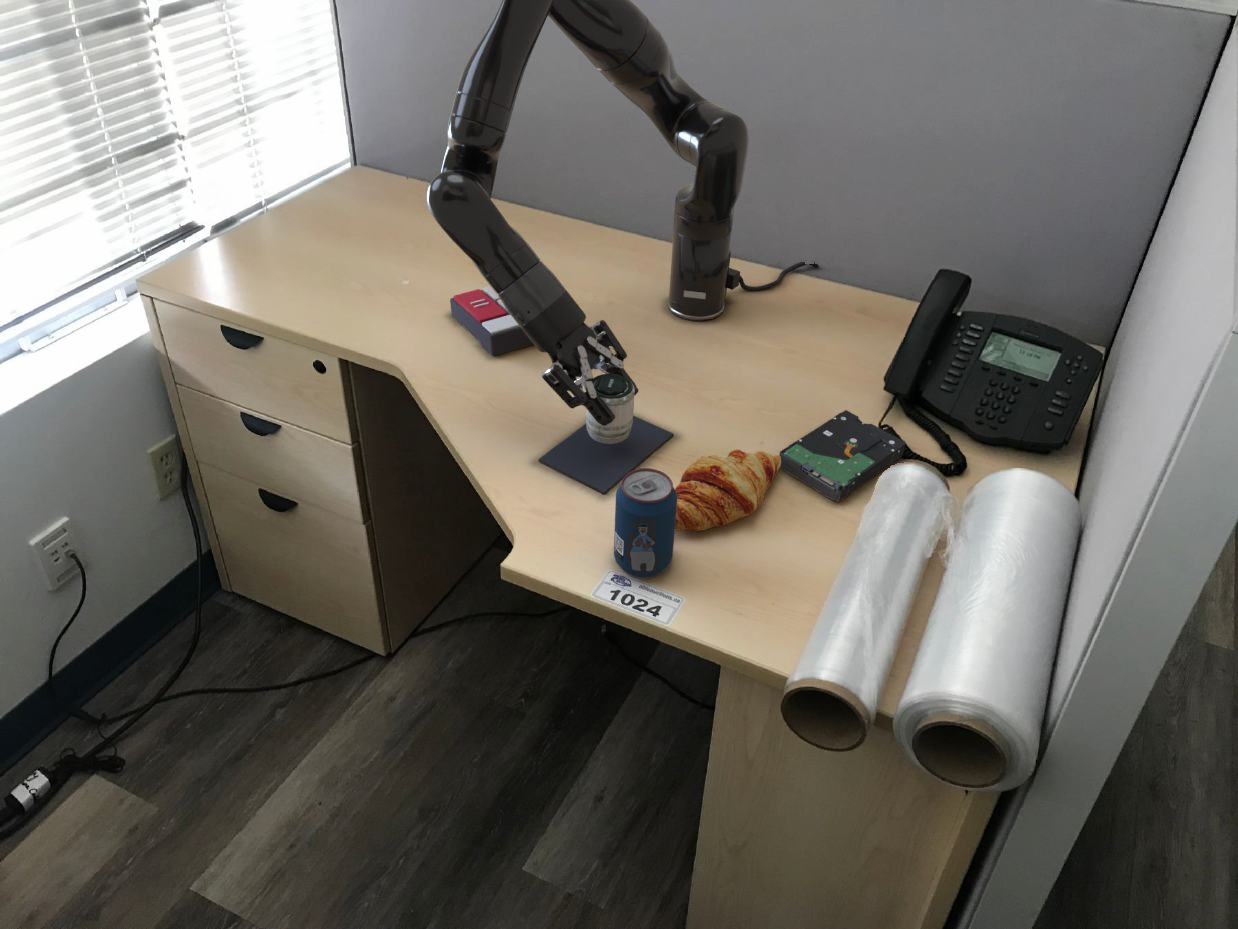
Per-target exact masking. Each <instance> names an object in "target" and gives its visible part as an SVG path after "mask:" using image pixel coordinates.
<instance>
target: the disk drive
mask: <svg viewBox="0 0 1238 929" xmlns="http://www.w3.org/2000/svg"><path fill="white" fill-rule="evenodd" d="M905 449H906V441H904V440H902V439H901V438H899V437H897V436H895V435H893V434H891V433H889V432H887V431H885V430H884V429H882V428H880V427H878V426H877V425H875V424H873V423H863V421H862V420H861V419H860V418H859V416H858V415H857V414H854V413H852V412H850V411H848V410H847V409H845V410H843V411H842V412H839V413H838V414H836V415H835V416H833V417H831V418H830V419H828V420H827V421H826V422H824V423H823V424H821V425H819V426H817V427H816V428H815V429H813V430H811V431H810V432H809V433H807V434H804V436H802V437H800V438H799V439H797V440H796V441H794V442H792V443H791V444H789V445H788V446H786V447H785V448H783V449H782V450H780V451H779V453H778V455H779V456H780V457H781V466H780V468H781V469H782V470H783V471H785V472H786V473H787V474H789V475H791V476H793V477H794V478H796V479H798V480H799V481H801V482H802V483H803V484H806V485H807V486H809V487H811V489H814V490H815V491H817V492H819V493H820V494H822V495H824V496H825V497H827V498H828V499H830V500H833V501H835V502H841V501H842V500H844V499H845V498H846V497H848V496H849V495H851V494H852V493H853V492H855V491H857V490H858V489H859V488H860V487H862V486H863V485H865V484H866V483H867V482H869V481H870V480H872V479H873V478H874V477H876V476H877V475H879V474H880V473H881V472H883V471H885V470H886V469H887V468H888V467H890V466H891V465H892V464H894V463H895V462H896V461H898V460H899V459H901V458H902V457H903V455H904V452H905Z"/></svg>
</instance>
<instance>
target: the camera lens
mask: <svg viewBox="0 0 1238 929" xmlns="http://www.w3.org/2000/svg"><path fill="white" fill-rule="evenodd" d="M592 383H593V385H594V388H595V391H596V394H597V396H600V398H601V399H602V400H603V401H604V403H605V404H606V405H607V406H608V408H609V409H610V410H611V412H612V413H613V414H614V415H615V419H614V420H613V421H612V422H611V423H609V424H607V425H606V426H602V425H601V424H599V423H598V422H597V421H596V420H595V418H594V417H593V416H592V415H591V414H590V412H589V411H588V410H587V409H586V408H585V424H586V427H587V431H588V433H589V435H590V437H592V439H594V440H596V441H598V442H600V443H606V444H614V443H619V442H622V441H624V440H625V439H626V438H627V437H628V436H629V434H630V431H631V428H632V423H633V416H634V409H635V396H634V394H635V388H634V386H633V384H632V382H631V381H630V380H629V379H627V378H626V377H624V376H621V375H618V374H606V373H602V374H599V375H596V376H595V377H594V376H593V380H592Z"/></svg>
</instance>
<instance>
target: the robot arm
mask: <svg viewBox="0 0 1238 929" xmlns="http://www.w3.org/2000/svg"><path fill="white" fill-rule="evenodd" d="M547 18H549V19H550V20H551V21H552V23H554V24H555V26H557V28H558V29H559V30H560V31H561V32H562V33H563V34H564V36H566V37H567V39H568V40H570V42H572V44H574V46H575V47H576V48H577V49H578V50H579V51H580V52H581V53H582V54H583V55H584V56H585V58H586V59H587V60H589V62H590V63H591V64H592V65H593V67H595V69H597V70H598V71H599V73H600V74H601V75H602V76H603V77H604V78H605V79H606V80H607V81H608V82H609V83H610V84H611V85H612V86H614V87H615V88H616V90H618V91H619V92H620V93H621V94H622V95H623V96H624V97H625V98H627V99H628V100H629V101H630V102H631V103H632V104H634V105H635V106H636V107H637V108H639V109H640V111H642V112H643V113H644V114H645V115H646V116H647V117H648V118H649V120H650V121H651V122H652V123H653V125H654V126H655V127H656V130H658V131H659V133H660V134H661V136H662V137H663V138H664V140H665V141H666V143H667V144H668V145H669V147H670V148H671V149H672V151H673V152H674V153H675V155H677V156H678V157H679V158H681V159H682V160H683V161H684V162H687V163H688V164H690V165H692V166H694V167H695V175H694V181H693V182H691V183H687V184H685V185H683V186H681V187H680V188H678V190H677V192H676V193H675V200H674V202H675V203H674V214H673V215H674V216H673V230H672V231H673V232H672V248H671V263H670V276H669V290H668V300H667V308H668V310H669V311H670V313H672V314H673V315H675V316H677V317H679V318H682V319H685V320H690V321H708V320H713V319H715V318H717V317H719V316H721V315H722V314H723V313H724V311H725V305H726V304H725V303H726V301H727V292H728V290H731V291H733V290H735V289H736V288H737V287H739V286H740V288H741V289H742V290H745V291H748V292H761V291H765V290H769V289H771V288H774V287H776V286H778V285H780V284H781V282H782V281H783V279H784V277H785V276H786V275H787V274H789V273H791V272H793V271H795V270H796V269H799V268H802V267H805V266H806V265H805V262H802V261H799V262H797V263H794V264H793V265H791V266H788V267H787V268H784V269H783V270H782V271H781V272H780V273H779V275H778V277H777V279H775V280H774V281H772V282H769V283H766V284H763V285H759V286H751V285H747V284H746V283H745V280H744V278H743V276H742V275H741V271H740V270H737V269H734V268H732V267H730V265H731V264H730V263H731V254H732V252H731V243H732V233H733V232H732V231H733V224H734V223H733V221H734V212H735V205H736V203H737V201H738V199H739V196H740V194H741V192H742V188H743V182H744V175H745V171H746V170H745V169H746V164H747V158H748V151H749V130H748V126H747V123H746V121H745V119H744V118H743V117H741V116H740V115H739V114H738V113H735V112H733V111H732V110H729V109H728V108H726V107H724V106H721V105H719V104H717V103H715V102H713V101H710V100H709V99H708V98H705V97H704V96H703V95H701V93H699V92H697V91H696V90H695V89H694V88H693V87H692V86H691V85H690V84H689V83H688V82H687V81H686V80H685V79H684V78H683V76H682V75H681V74H679V72H678V70H677V68H676V66H675V63H674V58H673V55H672V52H671V48H670V46H669V43H668V42H667V40H666V38H665V37H664V36H663V34H662V33H661V31H660V30H659V29H658V28H657V26H656V25H655V24H654V23H653V22H652V21H651V20H650V18H649V17H648V16H647V15H646V14H645V12H644V11H643V10H642V9H641V8H640V7H639V6H638V5H637V4H636V3H634V2H633V1H632V0H501V2H500V5H499V7H498V10H497V11H496V13H495V15H494V17H493V19H492V21H491V23H490V24H489V26H488V28H487V30H485V32H484V34H483V36H482V37H481V39H480V40H479V42H478V43H477V45H476V47H475V48H474V50H473V51H472V53H471V55H470V56H469V58H468V60H467V62H466V63H465V66H464V68H463V70H462V73H461V74H460V78H459V81H458V85H457V88H456V92H455V95H454V98H453V99H454V100H453V104H452V107H451V110H450V115H449V119H448V123H447V124H448V125H447V129H446V130H447V132H446V136H447V147H446V150H445V153H444V158H443V162H442V165H441V170H440V173H437V175H435V176H434V177H433V179H432V180H431V181H430V183H429V185H428V187H427V191H426V204H427V208H428V211H429V213H430V215H431V217H432V218H433V219H434V221H435V222H436V223H437V224H438V226H439V227H440V229H442V231H443V232H444V233H445V234H446V235H447V236H448V237H449V238H450V240H452V242H453V243H454V244H455V245H456V246H457V247H458V248H459V249H460V250H461V251H462V253H464V254H465V255H466V256H467V257H468V258H469V259H470V260H471V262H472V263H473V265H474V267H475V268H476V269H477V270H478V272H479V273H480V275H481V276H482V278H484V280H485V281H486V283H488V286H491V287H492V289H493V290H494V291H495V292H496V294H498V296H499V298H500V299H501V301H502V303H503V304H504V306H505V308H506V309H507V311H508V312H509V313H510V315H511V316H512V317H513V318H514V320H515V321H516V322H517V324H518V325H519V326H520V327H521V329H522V330H523V331H524V332H525V334H526V335H527V336H528V337H529V339H530V340H531V341H532V342H533V345H534V347H535V348H536V349H537V350H538V352H540V353H546V354H547V355H548V356H549V358H550V360H551V363H552V364H551V366H550V367H549V368H548V369H547V370H545V371H543V372H542V374H541V378H542V380H543V381H544V382H545V383H546V384H547V385H548V386H549V387H550V388H551V389H552V390H553V391H554V392H555V394H557V396H558V397H559V398H560V399H561V400H562V401H563V402H564V403H565V404H566V406H568V407H569V409H575V408H577V407H580V406H583V407H584V408H585V410H586V409H587V410H588V411H589V412H590V414H591V415H592V416H593V417H594V418H595V420H596V421H597V422H598V423H599V424H601V425H602V426H606V425H607V424H609V423H611V422H612V421H613V420H614V419H615V415H614V414H613V413H612V412H611V410H610V409H609V408H608V406H607V405H606V404H605V403H604V401H603V400H602V399H601V398H600V396H597V394H596V391H595V388H594V385H593V383H592V380H593V378H594V375H593V370H599V371H601V372H602V373H603V374H618V375H621V376H624V377H626V378H627V379H629V380H630V381H631V382H632V384H633V386H634V388H635V394H634V397H636V395H637V394H638V393H639V388H638V386H637V384H636V383H635V382H634V380H633V378H631V375H629V373H628V372H627V371H626V369H625V364H624V362H625V360H626V359H627V358H628V353H627V352H626V350H625V349H624V347H623V346H622V344H621V343H620V341H619V340H618V338H617V336H616V335H615V333H613V331H612V329H611V328H610V326H609V325H608V323H607V322H606V321H605V320H604V319H601V320H599V321H598V322H595V323H594V324H593V325H592V326H588V325H587V324H586V323H585V321H586V319H587V316H586V314H585V312H584V311H583V309H582V308H581V307H580V306H579V304H578V303H577V301H576V300H575V299H574V297H572V295H571V294H570V293H569V291H568V290H567V289H566V287H565V286H564V284H562V282H561V280H560V279H559V278H558V277H557V276H556V275H555V273H553V271H552V270H551V269H550V268H549V267H548V266H547V265H545V263H544V262H543V261H542V260H541V258H540V257H539V256H538V255H537V253H536V252H535V251H534V249H533V248H532V247H531V246H530V245H529V243H528V242H527V241H526V239H525V238H524V237H523V236H522V235H521V234H520V233H519V232H518V231H517V230H516V229H515V228H513V227H512V226H511V225H510V224H509V222H508V221H507V220H506V218H505V217H504V216H503V213H501V211H500V210H499V208H498V207H497V206H496V204H495V203H494V202H493V200H492V194H493V190H494V185H495V180H496V175H497V169H498V163H499V157H500V154H501V151H502V149H503V145H504V143H505V140H506V137H507V133H508V129H509V127H510V123H511V119H512V116H513V111H514V108H515V104H516V100H517V97H518V93H519V90H520V86H521V83H522V80H523V77H524V74H525V71H526V69H527V66H528V63H529V61H530V59H531V55H532V53H533V52H534V49H535V47H536V43H537V41H538V39H539V36H540V34H541V32H542V29H543V27H544V25H545V23H546V20H547ZM808 266H812V267H813V268H815V269H818V268H820V265H819V264H818V263H817V264H815V263H814V264H809V265H808ZM610 347H611V348H612V349H613V350H614V352H615V354H614V353H613V351H612V349H611V348H610ZM583 388H584V389H583ZM584 390H585V391H584ZM569 392H570V393H571V394H572V395H573V396H572V395H571V394H570V393H569Z"/></svg>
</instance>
